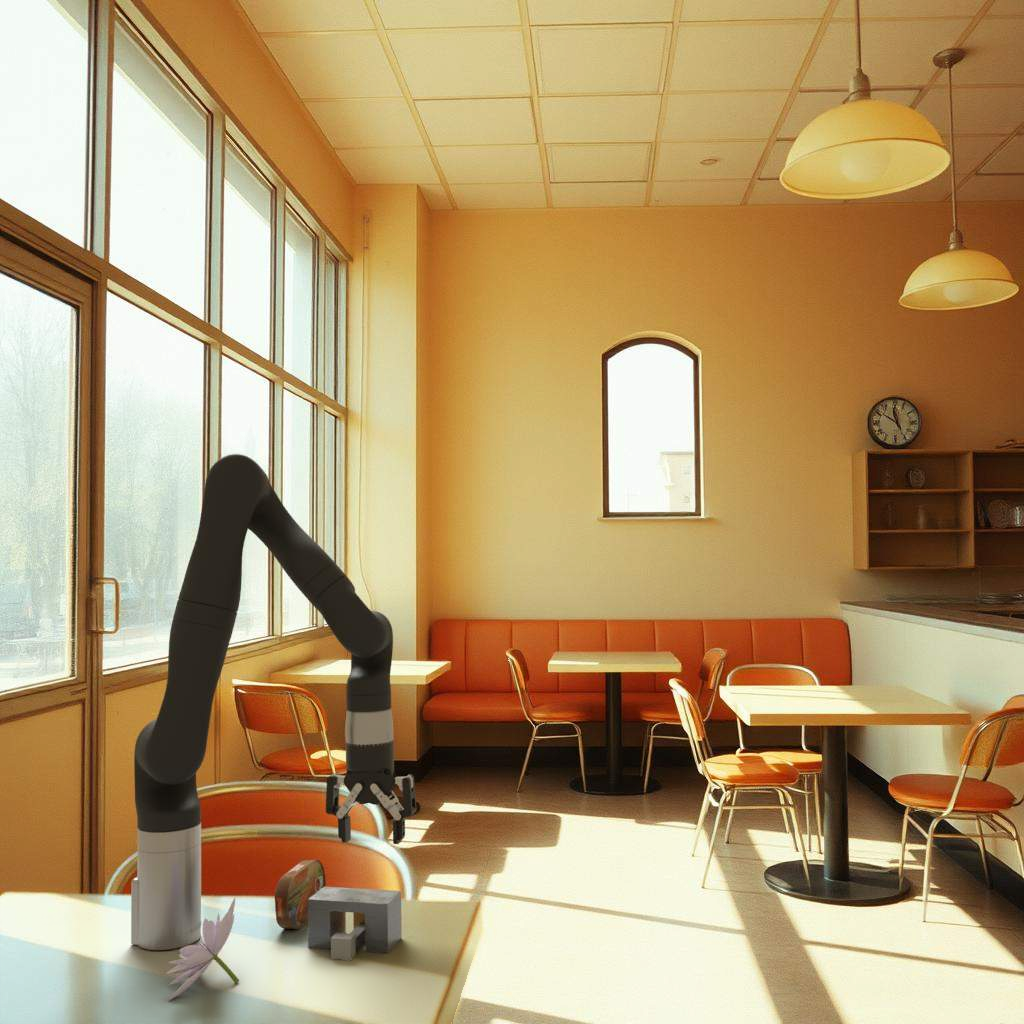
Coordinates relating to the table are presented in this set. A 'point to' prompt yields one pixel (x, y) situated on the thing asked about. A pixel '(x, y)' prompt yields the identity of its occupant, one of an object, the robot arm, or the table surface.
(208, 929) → the water lily
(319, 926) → the housing
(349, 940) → the plug
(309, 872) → the tin
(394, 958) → the table surface
